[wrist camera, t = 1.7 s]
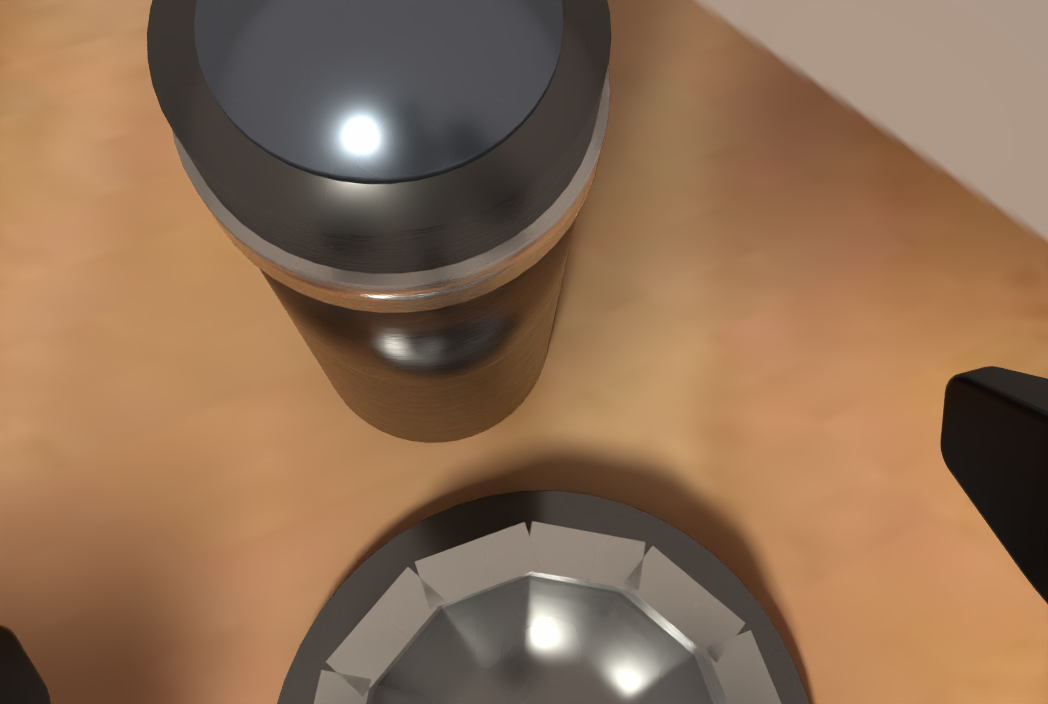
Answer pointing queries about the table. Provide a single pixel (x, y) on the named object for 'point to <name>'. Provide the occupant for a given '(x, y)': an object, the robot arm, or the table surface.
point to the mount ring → (542, 615)
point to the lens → (397, 180)
